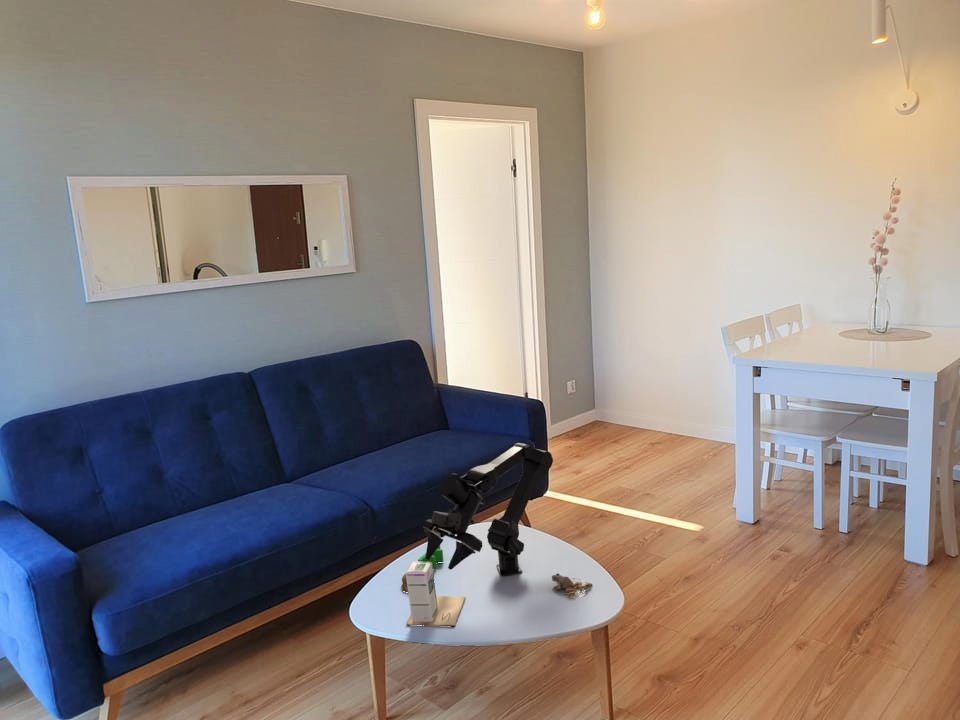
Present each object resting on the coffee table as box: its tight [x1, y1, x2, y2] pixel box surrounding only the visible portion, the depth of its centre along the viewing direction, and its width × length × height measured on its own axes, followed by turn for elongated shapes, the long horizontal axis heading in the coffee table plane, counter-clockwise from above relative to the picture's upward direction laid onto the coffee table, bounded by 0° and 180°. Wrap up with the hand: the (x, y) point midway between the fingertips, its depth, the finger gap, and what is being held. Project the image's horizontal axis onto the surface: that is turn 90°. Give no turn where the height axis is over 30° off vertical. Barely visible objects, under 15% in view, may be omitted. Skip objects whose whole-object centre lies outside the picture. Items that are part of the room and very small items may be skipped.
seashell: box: [401, 573, 408, 592], centre depth 215 cm, size 10×4×10 cm
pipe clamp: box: [417, 545, 445, 570], centre depth 225 cm, size 11×4×5 cm, turn 152°
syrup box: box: [405, 561, 438, 622], centre depth 195 cm, size 6×6×14 cm
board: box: [405, 595, 466, 628], centre depth 200 cm, size 13×14×1 cm
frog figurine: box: [551, 573, 594, 599], centre depth 205 cm, size 12×12×4 cm
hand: (437, 564), depth 198 cm, fingers open, 9 cm apart
